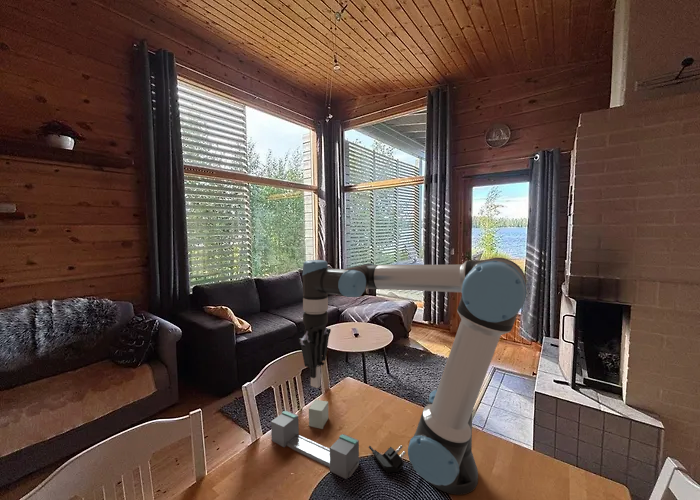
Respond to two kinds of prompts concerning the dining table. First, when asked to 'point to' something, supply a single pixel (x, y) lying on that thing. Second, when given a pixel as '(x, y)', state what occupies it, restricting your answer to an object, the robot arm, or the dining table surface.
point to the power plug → (390, 459)
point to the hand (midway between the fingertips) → (315, 385)
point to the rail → (314, 451)
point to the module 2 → (318, 414)
